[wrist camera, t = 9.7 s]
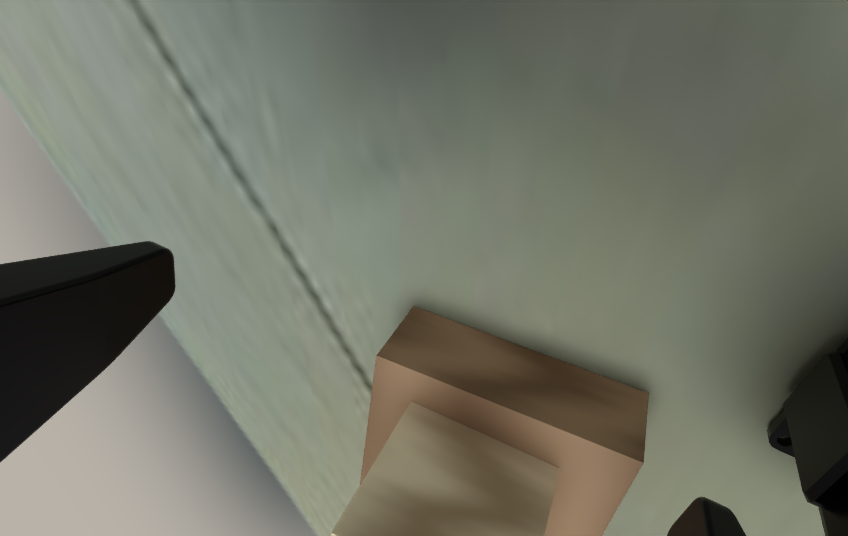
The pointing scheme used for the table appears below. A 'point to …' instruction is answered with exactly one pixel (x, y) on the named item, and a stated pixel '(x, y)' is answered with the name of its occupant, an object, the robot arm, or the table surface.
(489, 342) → the walnut block
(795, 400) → the robot arm
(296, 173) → the table surface
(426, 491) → the maple cube
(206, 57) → the table surface
